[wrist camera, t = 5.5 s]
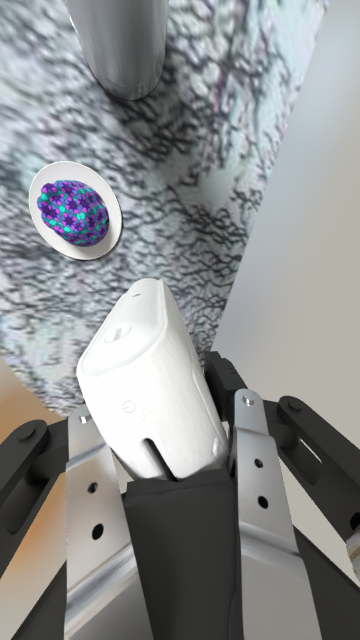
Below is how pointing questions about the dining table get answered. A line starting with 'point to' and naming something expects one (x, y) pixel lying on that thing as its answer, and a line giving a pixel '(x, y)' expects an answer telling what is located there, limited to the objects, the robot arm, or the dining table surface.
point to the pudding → (74, 210)
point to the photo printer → (151, 389)
